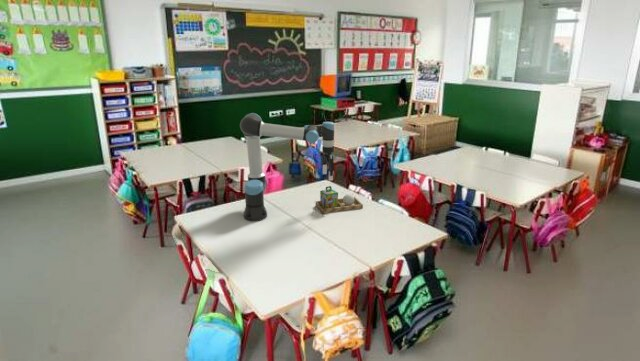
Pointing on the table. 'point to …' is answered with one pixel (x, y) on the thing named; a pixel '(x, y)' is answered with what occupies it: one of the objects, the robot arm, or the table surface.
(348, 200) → the grey ball
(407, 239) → the table surface
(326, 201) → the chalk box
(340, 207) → the tray
